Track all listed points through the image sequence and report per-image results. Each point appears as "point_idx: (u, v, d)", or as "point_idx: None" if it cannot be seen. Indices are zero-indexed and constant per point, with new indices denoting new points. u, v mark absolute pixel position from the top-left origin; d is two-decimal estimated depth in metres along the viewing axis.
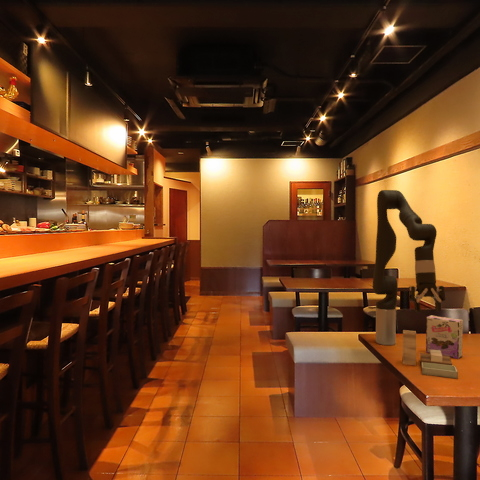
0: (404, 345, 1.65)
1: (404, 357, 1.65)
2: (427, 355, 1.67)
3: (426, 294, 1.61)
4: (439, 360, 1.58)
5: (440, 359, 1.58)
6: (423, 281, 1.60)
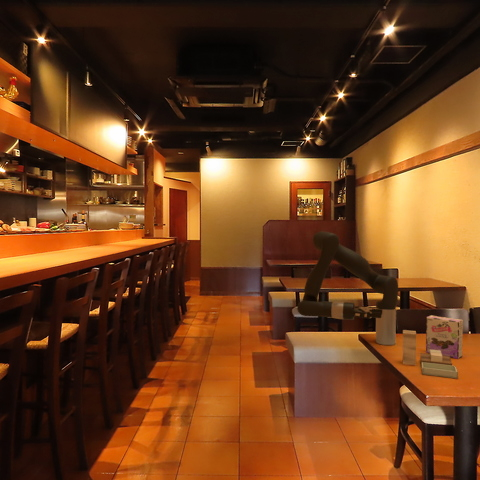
0: (404, 345, 1.65)
1: (404, 357, 1.65)
2: (427, 355, 1.67)
3: None
4: (439, 360, 1.58)
5: (440, 359, 1.58)
6: None
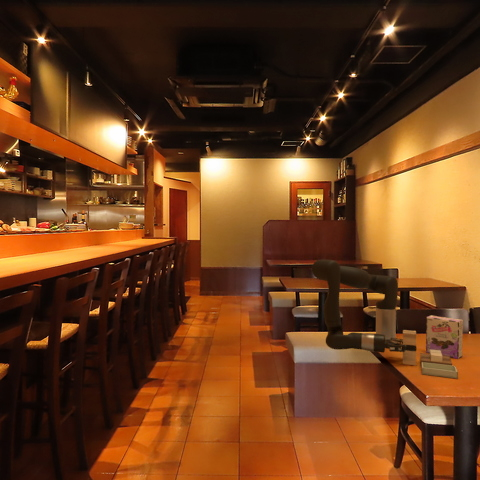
0: None
1: (404, 357, 1.65)
2: (427, 355, 1.67)
3: None
4: (439, 360, 1.58)
5: (440, 359, 1.58)
6: None
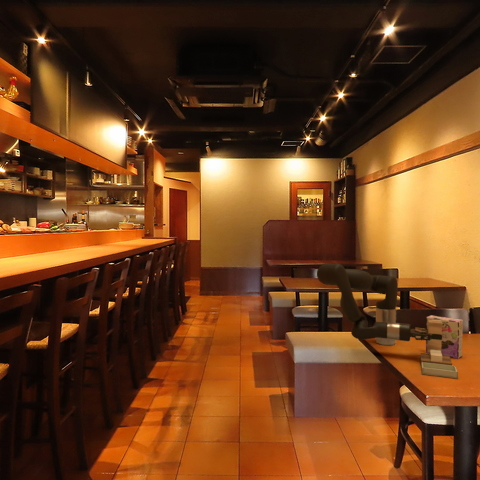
0: None
1: (429, 346, 1.69)
2: (427, 355, 1.67)
3: None
4: (439, 360, 1.58)
5: (440, 359, 1.58)
6: None
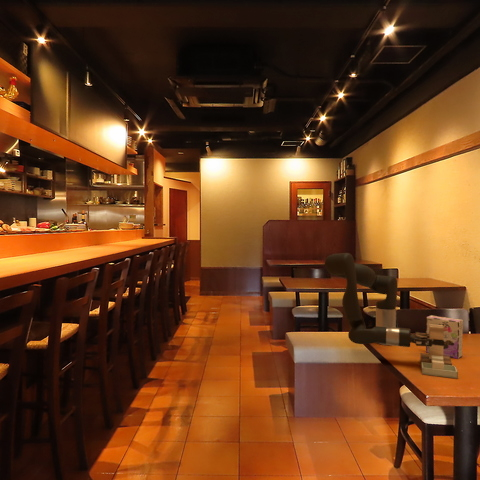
0: None
1: (431, 352, 1.60)
2: (427, 355, 1.67)
3: None
4: None
5: None
6: None
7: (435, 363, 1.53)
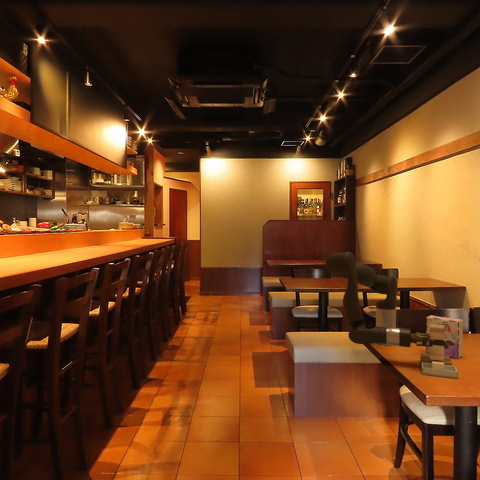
0: None
1: (431, 352, 1.59)
2: (427, 355, 1.67)
3: None
4: None
5: None
6: None
7: (435, 364, 1.52)
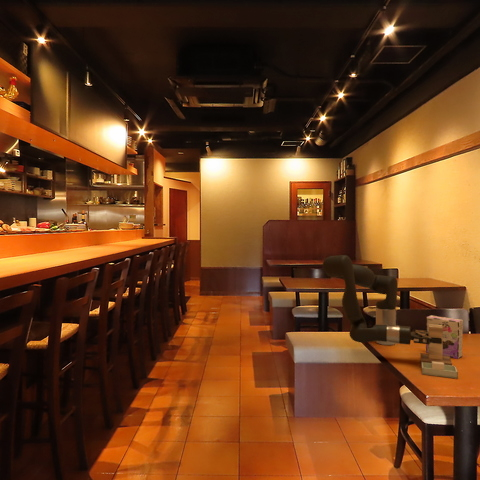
0: None
1: (430, 351, 1.63)
2: (427, 355, 1.67)
3: None
4: None
5: None
6: None
7: (435, 364, 1.52)
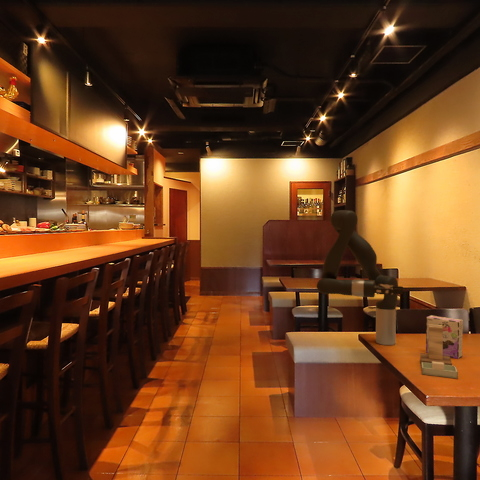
0: (430, 339, 1.63)
1: (430, 351, 1.63)
2: (427, 355, 1.67)
3: None
4: None
5: None
6: None
7: (435, 364, 1.52)
